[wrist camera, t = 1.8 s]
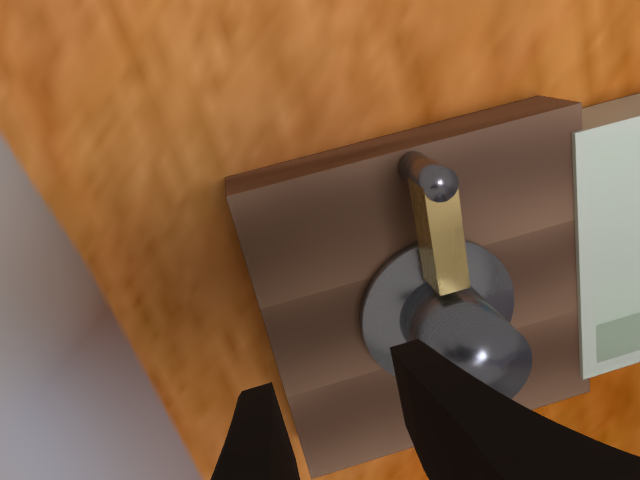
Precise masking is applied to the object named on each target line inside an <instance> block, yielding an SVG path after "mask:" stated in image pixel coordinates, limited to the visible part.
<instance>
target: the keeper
mask: <svg viewBox="0 0 640 480" xmlns="http://www.w3.org/2000/svg"><path fill="white" fill-rule="evenodd" d="M398 172H399V175H400V176H401V178H402V179H404V180H405V181H406V182H408V184H409V190H410V196H411V202H412V209H413V215H414V221H415V227H416V233H417V240H418V246H419V252H420V258H421V264H422V271H423V277H424V278H425V280H426V281H427V282H428V283H429V284H430V285H431V287H432V288H433V289H434V290H435V291H436V292H437V293H438V295H439V296H442V295H446V294H449V293H453V292H456V291H460V290H463V289H466V288H470V279H469V271H468V263H467V255H466V247H465V239H464V231H463V223H462V215H461V206H460V198H459V190H458V186H459V180H458V176H457V175H456V173H455V172H454V171H453V170H451V169H449V168H447V167H445V166H444V165H442V164H440V163H438V162H436V161H435V160H433V159H431V158H429V157H427V156H425V155H424V154H422V153H420V152H417V151H412V152H409V153H407V154H405V155H404V156H403V157H402V158H401V160H400V162H399V165H398Z"/></svg>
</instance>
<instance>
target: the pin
mask: <svg viewBox="0 0 640 480" xmlns="http://www.w3.org/2000/svg"><path fill="white" fill-rule="evenodd" d="M465 247H466V255H467V263H468V271H469V279H470V288H466V289H463V290H460V291H456V292H453V293H449V294H446V295H442V296H439V295H438V293H437V292H436V291H435V290H434V289H433V288H432V287H431V285H430V284H429V283H428V282H427V281H426V280H425V278H424V277H423V271H422V264H421V258H420V252H419V246H418V241H417V242H414V243H412V244H410V245H408V246H406V247H404V248H402V249H401V250H399V251H398V252H396V253H395V254H394V255H392V256H391V257H390V258H389V259H387V260H386V261H385V262H384V263H383V264H382V265H381V266H380V267H379V269H378V270H377V271H376V273H375V274H374V275H373V277H372V278H371V280H370V282H369V283H368V285H367V288H366V290H365V292H364V295H363V298H362V302H361V307H360V328H361V333H362V336H363V339H364V341H365V343H366V345H367V347H368V350H369V352H370V354H371V355H372V357H373V358H374V360H375V361H376V362H377V363H378V364H379V365H380V366H381V367H382V368H383V369H384V370H386V371H387V372H388V373H390V374H392V375H393V376H395V371H394V366H393V361H392V356H391V351H390V347H392V346H396V345H399V344H403V343H406V342H409V341H413V340H416V339H419V340H421V341H423V342H424V343H426V344H427V345H428V346H430V347H431V348H433V349H434V350H436V351H437V352H438V353H440V354H441V355H443V356H444V357H446V358H447V359H448V360H450V361H451V362H453V363H454V364H456V365H457V366H459V367H460V368H462V369H463V370H465V371H466V372H468V373H469V374H471V375H472V376H474V377H476V378H477V379H479V380H480V381H482V382H484V383H485V384H487V385H489V386H490V387H492V388H493V389H495V390H497V391H498V392H500V393H502V394H503V395H505V396H507V397H509V398H510V399H512V398H513V397H514V396H515V395H516V394H517V393H518V392H519V391H520V390H521V389H522V387H523V386H524V385H525V383H526V381H527V379H528V377H529V375H530V372H531V368H532V351H531V348H530V345H529V343H528V341H527V340H526V339H525V338H524V337H523V336H522V335H521V334H520V333H519V332H518V331H517V330H516V329H515V328H514V327H513V326H512V325H511V324H510V322H511V319H512V315H513V309H514V290H513V285H512V282H511V278H510V276H509V274H508V272H507V270H506V268H505V267H504V266H503V264H502V263H501V262H500V261H499V260H498V259H497V258H496V257H495V256H494V255H493V254H492V253H490V252H489V251H488V250H486V249H485V248H484V247H482V246H481V245H479V244H477V243H475V242H473V241H470V240H467V239H465ZM395 377H396V376H395Z"/></svg>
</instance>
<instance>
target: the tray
mask: <svg viewBox="0 0 640 480" xmlns="http://www.w3.org/2000/svg"><path fill="white" fill-rule="evenodd" d="M571 133H572V161H573V189H574V217H575V245H576V273H577V301H578V329H579V357H580V377H581V378H582V379H583V380H584V379H587V378H590V377H594V376H597V375H600V374H603V373H606V372H610V371H613V370H616V369H619V368H622V367H626V366H629V365H632V364H635V363H638V362H640V93H638V94H634V95H631V96H627V97H623V98H619V99H616V100H612V101H608V102H604V103H601V104H597V105H593V106H589V107H585V108H582V130H578V131H575V132H571Z"/></svg>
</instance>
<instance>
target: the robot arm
mask: <svg viewBox="0 0 640 480" xmlns="http://www.w3.org/2000/svg"><path fill="white" fill-rule="evenodd" d="M390 351H391V356H392V361H393V366H394V371H395V376H396V381H397V386H398V391H399V396H400V401H401V406H402V411H403V416H404V421H405V426H406V428H407V431H408V433H409V435H410V438H411V440H412V443H413V445H414V447H415V450H416V452H417V455H418V457H419V459H420V462H421V464H422V466H423V469H424V471H425V473H426V474H427V476H428V478H429V480H640V457H638V456H635V455H633V454H630V453H627V452H624V451H622V450H619V449H616V448H614V447H611V446H609V445H606V444H604V443H601V442H599V441H596V440H594V439H592V438H589V437H587V436H585V435H583V434H580V433H578V432H576V431H574V430H571V429H569V428H567V427H565V426H562V425H560V424H558V423H556V422H554V421H552V420H550V419H548V418H546V417H543V416H541V415H540V414H538V413H536V412H534V411H532V410H530V409H528V408H527V407H525V406H523V405H521V404H519V403H517V402H515V401H514V400H512V399H510V398H509V397H507V396H505V395H503V394H502V393H500V392H498V391H497V390H495V389H493V388H492V387H490V386H489V385H487V384H485V383H484V382H482V381H480V380H479V379H477V378H476V377H474V376H472V375H471V374H469V373H468V372H466V371H465V370H463V369H462V368H460V367H459V366H457V365H456V364H454V363H453V362H451V361H450V360H448V359H447V358H446V357H444V356H443V355H441V354H440V353H438V352H437V351H436V350H434V349H433V348H431V347H430V346H428V345H427V344H426V343H424V342H423V341H421V340H419V339H416V340H413V341H409V342H406V343H403V344H399V345H396V346H392V347H390ZM211 480H300V477H299V472H298V468H297V463H296V459H295V455H294V452H293V449H292V446H291V443H290V439H289V436H288V433H287V430H286V427H285V423H284V420H283V417H282V414H281V411H280V407H279V404H278V401H277V398H276V395H275V391H274V388H273V385H272V382H271V383H268V384H264V385H261V386H258V387H254V388H251V389H248V390H244V391H242V392H241V394H240V395H239V397H238V400H237V404H236V408H235V411H234V415H233V418H232V422H231V425H230V428H229V431H228V434H227V437H226V440H225V443H224V446H223V448H222V451H221V454H220V456H219V459H218V462H217V464H216V467H215V470H214V472H213V475H212V477H211Z"/></svg>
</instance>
